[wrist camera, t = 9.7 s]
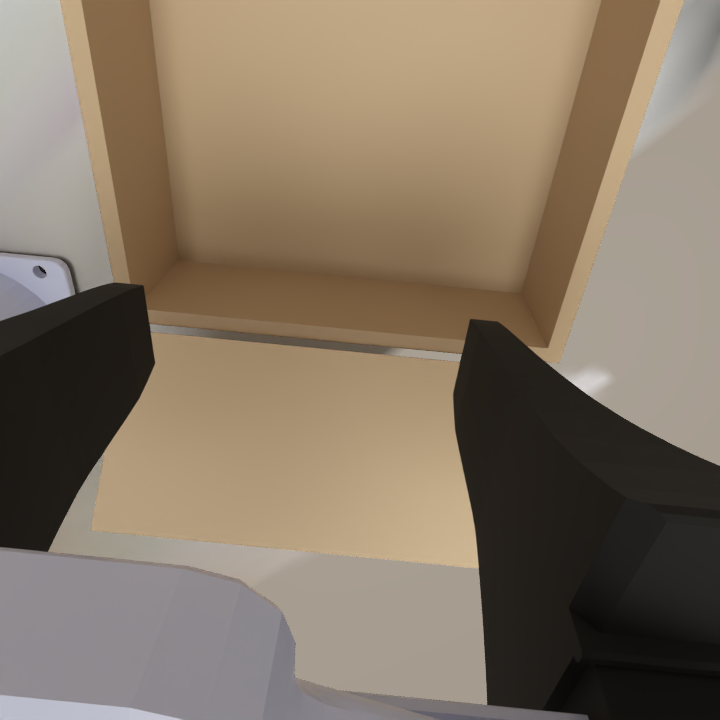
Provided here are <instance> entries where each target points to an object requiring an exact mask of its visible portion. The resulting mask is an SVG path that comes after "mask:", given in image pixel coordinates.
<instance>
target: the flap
mask: <svg viewBox="0 0 720 720" xmlns="http://www.w3.org/2000/svg"><path fill="white" fill-rule="evenodd" d="M151 338H152V345H153V351H154V358H155V365H154V368H153V370H152V372H151V375H150V377H149V379H148V382H147V384H146V386H145V388H144V390H143V392H142V394H141V396H140V398H139V400H138V401H137V403H136V405H135V406H134V408H133V409H132V411H131V412H130V414H129V415H128V417H127V418H126V420H125V421H124V423H123V424H122V426H121V427H120V429H119V430H118V432H117V433H116V435H115V436H114V438H113V439H112V441H111V442H110V444H109V445H108V447H107V448H106V450H105V454H104V460H103V465H102V471H101V476H100V482H99V487H98V493H97V498H96V504H95V509H94V515H93V520H92V526H91V530H92V531H102V532H112V533H122V534H132V535H143V536H153V537H163V538H173V539H183V540H194V541H204V542H214V543H224V544H234V545H244V546H255V547H265V548H275V549H285V550H295V551H306V552H316V553H326V554H336V555H346V556H356V557H367V558H377V559H387V560H397V561H408V562H417V563H429V564H439V565H449V566H458V567H468V568H479V564H478V554H477V543H476V533H475V526H474V520H473V514H472V509H471V504H470V500H469V495H468V490H467V486H466V481H465V476H464V472H463V467H462V462H461V457H460V452H459V448H458V443H457V438H456V432H455V422H454V406H453V391H454V387H455V382H456V378H457V374H458V369H459V365H460V362H454V361H444V360H443V361H442V360H432V359H422V358H413V357H402V356H392V355H382V354H371V353H361V352H351V351H340V350H330V349H320V348H310V347H299V346H289V345H279V344H268V343H258V342H248V341H237V340H227V339H217V338H206V337H196V336H186V335H176V334H165V333H155V332H151Z"/></svg>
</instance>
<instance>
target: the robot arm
mask: <svg viewBox="0 0 720 720" xmlns="http://www.w3.org/2000/svg"><path fill="white" fill-rule="evenodd" d="M39 266H41V267H42V268H44V269H45V271H46V274H44V273H43V272H41V271H40V269H39ZM154 365H155V358H154V351H153V345H152V338H151V331H150V325H149V318H148V311H147V305H146V298H145V291H144V285H137V284H127V283H117V282H116V283H111V284H106V285H102V286H99V287H96V288H93V289H90V290H87V291H84V292H81V293H78V294H75V290H74V286H73V282H72V278H71V273H70V270H69V268H68V266H67V265H66V264H65V262H63V261H62V260H60V259H57V258H52V257H42V256H31V255H21V254H11V253H0V720H720V466H718V465H716V464H714V463H711V462H709V461H707V460H704V459H702V458H700V457H698V456H695V455H693V454H691V453H689V452H687V451H685V450H683V449H681V448H678V447H676V446H674V445H672V444H670V443H668V442H666V441H665V440H663V439H661V438H659V437H657V436H655V435H653V434H651V433H649V432H647V431H645V430H644V429H641V428H640V427H638V426H636V425H635V424H633V423H631V422H629V421H628V420H626V419H624V418H623V417H621V416H619V415H618V414H616V413H614V412H613V411H611V410H610V409H608V408H607V407H605V406H603V405H602V404H600V403H599V402H597V401H596V400H594V399H593V398H591V397H590V396H588V395H587V394H586V393H584V392H583V391H582V390H580V389H579V388H578V387H576V386H575V385H574V384H572V383H571V382H570V381H568V380H567V379H566V378H564V377H563V376H562V375H561V374H559V373H558V372H557V371H556V370H554V369H553V368H552V367H550V365H548V364H547V363H546V362H545V361H544V360H542V359H541V358H540V357H539V356H538V355H537V354H536V353H534V352H533V351H532V350H531V349H530V348H529V347H528V346H526V345H525V344H524V343H523V342H522V341H521V340H520V339H519V338H517V337H516V336H515V335H514V334H513V333H512V332H511V331H509V330H508V329H507V328H506V327H505V326H503V325H502V324H501V323H499V322H498V321H488V320H478V319H470V321H469V326H468V330H467V334H466V339H465V343H464V348H463V352H462V356H461V361H460V365H459V369H458V374H457V378H456V382H455V387H454V391H453V406H454V422H455V432H456V438H457V443H458V448H459V452H460V457H461V462H462V467H463V472H464V476H465V481H466V486H467V490H468V495H469V500H470V504H471V509H472V514H473V520H474V526H475V533H476V543H477V554H478V564H479V575H480V588H481V599H482V614H483V628H484V646H485V663H486V682H487V705H482V704H471V703H461V702H451V701H441V700H432V699H422V698H411V697H401V696H391V695H381V694H371V693H361V692H351V691H341V690H336V689H332V688H329V687H325V686H322V685H318V684H315V683H311V682H308V681H305V680H301V679H298V678H295V673H294V671H295V670H294V669H295V645H296V643H295V640H294V638H293V636H292V634H291V631H290V629H289V626H288V624H287V622H286V619H285V617H284V615H283V613H282V611H281V610H280V609H279V608H278V607H277V606H276V605H275V604H274V603H273V602H271V601H270V600H268V599H267V598H265V597H264V596H262V595H261V594H260V593H258V592H257V591H255V590H254V589H252V588H251V587H249V586H248V585H246V584H245V583H244V582H242V581H241V580H239V579H236V578H232V577H228V576H224V575H221V574H217V573H213V572H209V571H205V570H201V569H198V568H194V567H190V566H183V565H173V564H163V563H153V562H143V561H133V560H123V559H113V558H103V557H93V556H83V555H73V554H63V553H53V552H48V550H49V548H50V546H51V544H52V542H53V540H54V538H55V536H56V534H57V532H58V530H59V528H60V526H61V524H62V522H63V520H64V518H65V516H66V514H67V512H68V510H69V508H70V506H71V504H72V503H73V501H74V499H75V497H76V495H77V493H78V491H79V490H80V488H81V486H82V485H83V483H84V481H85V480H86V478H87V476H88V475H89V473H90V472H91V470H92V469H93V467H94V466H95V464H96V463H97V461H98V460H99V458H100V457H101V455H102V454H103V452H104V451H105V450H106V448H107V447H108V445H109V444H110V442H111V441H112V439H113V438H114V436H115V435H116V433H117V432H118V430H119V429H120V427H121V426H122V424H123V423H124V421H125V420H126V418H127V417H128V415H129V414H130V412H131V411H132V409H133V408H134V406H135V405H136V403H137V401H138V400H139V398H140V396H141V394H142V392H143V390H144V388H145V386H146V384H147V382H148V379H149V377H150V375H151V372H152V370H153V368H154Z"/></svg>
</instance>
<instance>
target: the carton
mask: <svg viewBox="0 0 720 720" xmlns="http://www.w3.org/2000/svg"><path fill="white" fill-rule="evenodd" d="M683 2H684V0H60V3H61V8H62V13H63V19H64V24H65V29H66V34H67V39H68V45H69V50H70V55H71V60H72V66H73V71H74V76H75V81H76V86H77V92H78V97H79V102H80V107H81V113H82V118H83V123H84V128H85V134H86V139H87V144H88V149H89V154H90V160H91V165H92V170H93V175H94V181H95V186H96V191H97V196H98V201H99V207H100V212H101V217H102V222H103V228H104V233H105V238H106V243H107V249H108V254H109V259H110V264H111V269H112V275H113V280H114V283H116V282H117V283H127V284H137V285H144V291H145V298H146V305H147V311H148V318H149V324H158V325H169V326H179V327H189V328H200V329H210V330H220V331H230V332H241V333H251V334H261V335H272V336H282V337H292V338H303V339H313V340H323V341H334V342H344V343H354V344H365V345H375V346H385V347H395V348H406V349H416V350H426V351H438V352H447V353H457V354H458V353H459V354H462V352H463V348H464V343H465V339H466V334H467V330H468V326H469V321H470V319H478V320H488V321H498V322H499V323H501V324H502V325H503V326H505V327H506V328H507V329H508V330H509V331H511V332H512V333H513V334H514V335H515V336H516V337H517V338H519V339H520V340H521V341H522V342H523V343H524V344H525V345H526V346H528V347H529V348H530V349H531V350H532V351H533V352H534V353H536V354H537V355H538V356H539V357H540V358H541V359H542V360H544V361H545V362H550V363H559V362H560V360H561V357H562V354H563V351H564V348H565V345H566V342H567V340H568V337H569V333H570V331H571V328H572V325H573V322H574V319H575V316H576V313H577V310H578V307H579V305H580V302H581V299H582V296H583V293H584V290H585V287H586V284H587V281H588V278H589V275H590V273H591V270H592V267H593V264H594V261H595V258H596V255H597V252H598V249H599V246H600V243H601V241H602V238H603V235H604V232H605V229H606V226H607V223H608V220H609V217H610V214H611V211H612V208H613V206H614V203H615V200H616V197H617V194H618V191H619V188H620V185H621V182H622V179H623V177H624V174H625V171H626V168H627V165H628V162H629V159H630V156H631V153H632V150H633V147H634V145H635V142H636V139H637V136H638V133H639V130H640V127H641V124H642V121H643V118H644V115H645V112H646V110H647V107H648V104H649V101H650V98H651V95H652V92H653V89H654V86H655V83H656V80H657V78H658V75H659V72H660V69H661V66H662V63H663V60H664V57H665V54H666V51H667V48H668V46H669V43H670V40H671V37H672V34H673V31H674V28H675V25H676V22H677V19H678V16H679V14H680V11H681V8H682V5H683Z"/></svg>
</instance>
